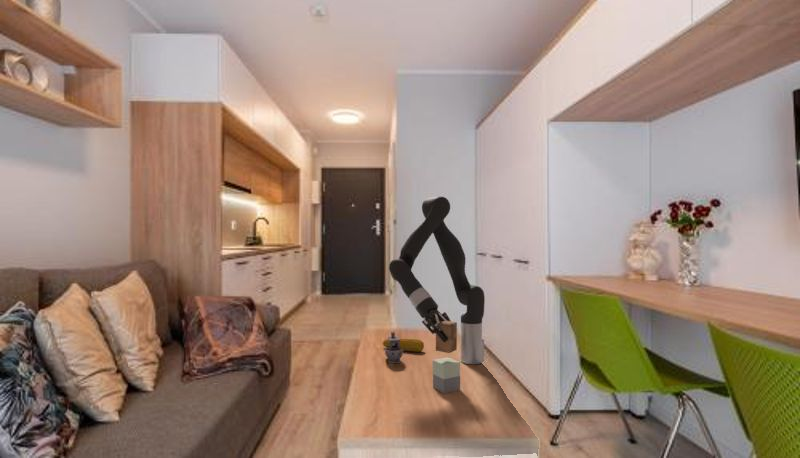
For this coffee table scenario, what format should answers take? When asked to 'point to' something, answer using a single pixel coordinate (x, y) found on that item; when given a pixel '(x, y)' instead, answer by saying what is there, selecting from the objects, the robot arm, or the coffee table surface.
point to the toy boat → (394, 349)
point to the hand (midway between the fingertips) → (450, 339)
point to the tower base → (446, 384)
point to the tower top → (446, 368)
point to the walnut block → (451, 333)
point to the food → (408, 345)
